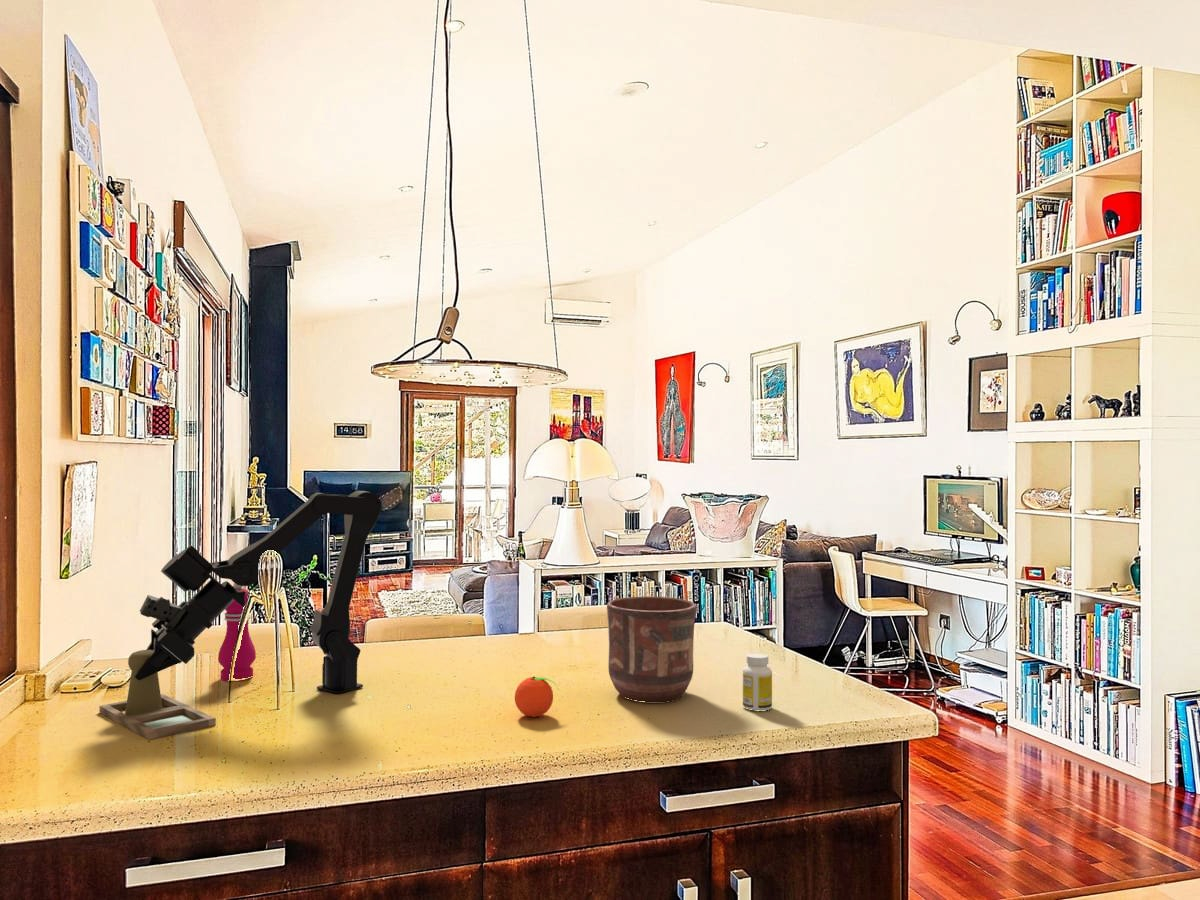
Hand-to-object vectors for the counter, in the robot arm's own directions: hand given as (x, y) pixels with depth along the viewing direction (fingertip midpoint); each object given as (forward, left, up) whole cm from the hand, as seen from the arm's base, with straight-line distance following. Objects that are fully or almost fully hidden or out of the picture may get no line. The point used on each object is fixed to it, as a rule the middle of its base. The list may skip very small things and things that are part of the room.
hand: (135, 675), depth 160 cm
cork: (-1, -1, -7) cm, 7 cm away
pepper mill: (+7, -26, -7) cm, 28 cm away
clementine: (-60, -39, -7) cm, 72 cm away
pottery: (-70, -63, -7) cm, 94 cm away
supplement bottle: (-91, -66, -7) cm, 113 cm away
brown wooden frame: (-6, 0, -7) cm, 9 cm away
